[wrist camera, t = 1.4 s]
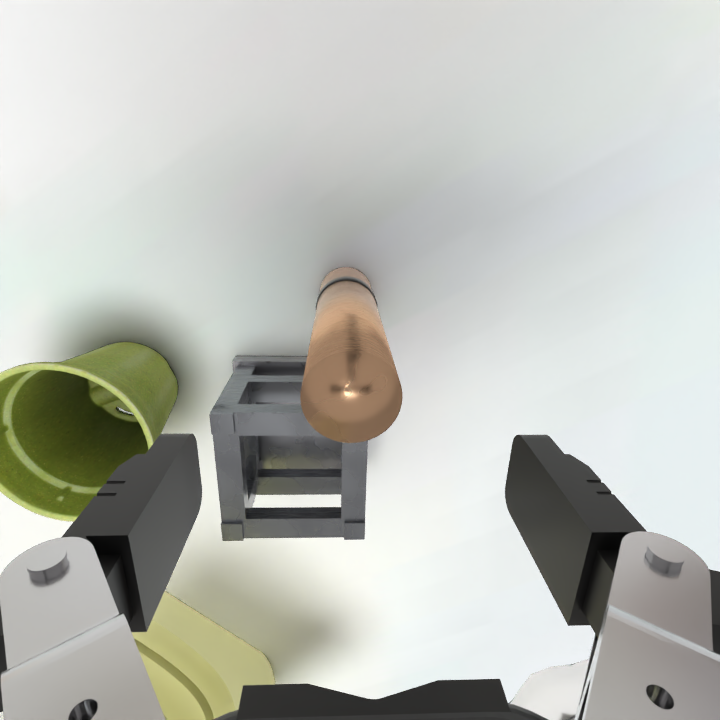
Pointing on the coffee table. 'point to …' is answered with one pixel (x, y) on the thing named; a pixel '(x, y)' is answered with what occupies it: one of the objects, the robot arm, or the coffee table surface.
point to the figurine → (553, 691)
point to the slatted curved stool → (197, 663)
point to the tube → (349, 363)
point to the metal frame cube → (281, 457)
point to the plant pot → (79, 424)
